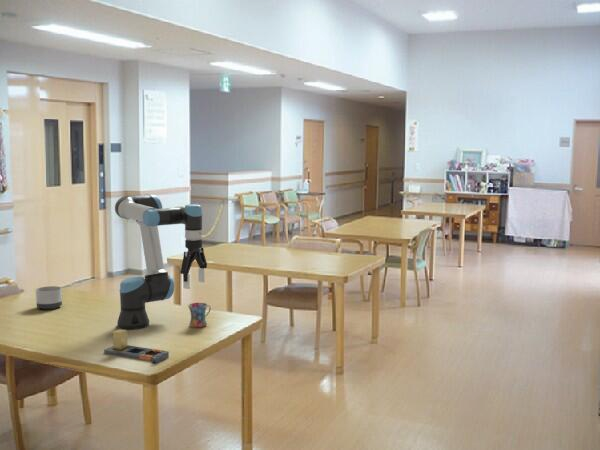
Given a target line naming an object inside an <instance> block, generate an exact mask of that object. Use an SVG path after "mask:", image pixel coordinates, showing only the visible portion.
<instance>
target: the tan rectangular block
mask: <svg viewBox="0 0 600 450" xmlns="http://www.w3.org/2000/svg"><path fill="white" fill-rule="evenodd" d="M112 335H113V336H112V337H113V338H112V339H113V346H114V350H119V351H123V350H125V349H127V348H128V347H127V345H128V330H127V329H120V328H118V329H117V330H114V331H112Z"/></svg>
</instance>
